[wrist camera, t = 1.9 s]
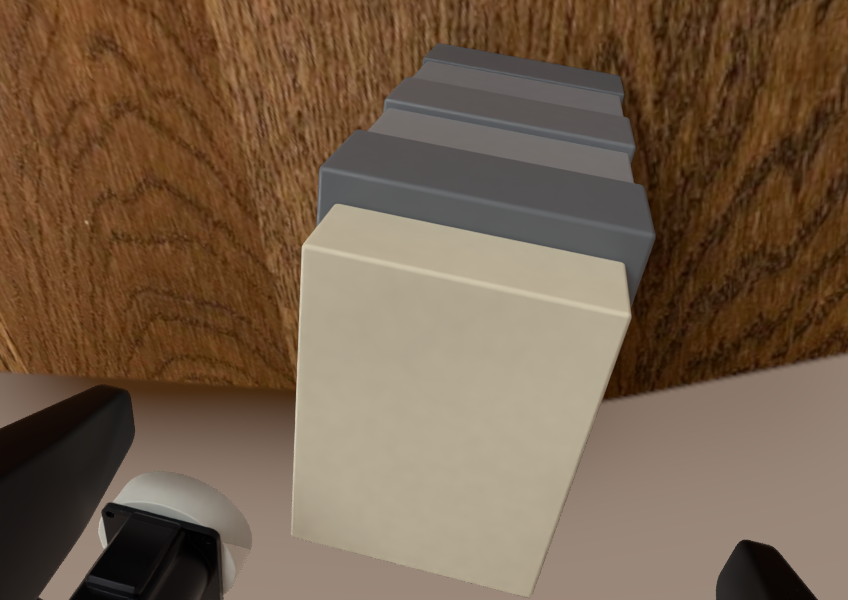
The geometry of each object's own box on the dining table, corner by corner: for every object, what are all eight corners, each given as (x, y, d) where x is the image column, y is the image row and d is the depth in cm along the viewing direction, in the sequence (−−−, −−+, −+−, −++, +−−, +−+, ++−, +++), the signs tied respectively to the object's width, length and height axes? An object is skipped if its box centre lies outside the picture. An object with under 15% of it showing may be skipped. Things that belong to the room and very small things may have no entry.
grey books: (558, 296, 22) (545, 552, 13) (407, 264, 22) (301, 491, 14) (620, 75, 18) (658, 235, 9) (437, 42, 18) (317, 165, 10)
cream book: (535, 532, 13) (531, 601, 12) (316, 477, 13) (289, 538, 12) (626, 261, 10) (633, 315, 8) (335, 200, 10) (300, 244, 9)
